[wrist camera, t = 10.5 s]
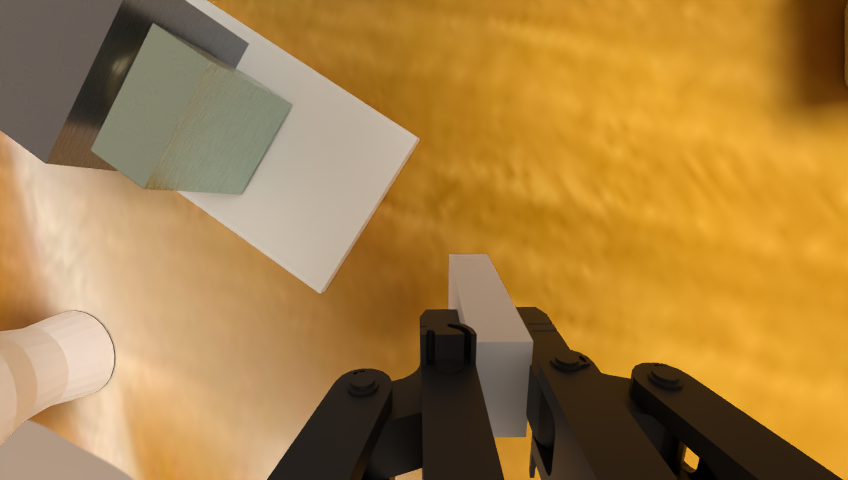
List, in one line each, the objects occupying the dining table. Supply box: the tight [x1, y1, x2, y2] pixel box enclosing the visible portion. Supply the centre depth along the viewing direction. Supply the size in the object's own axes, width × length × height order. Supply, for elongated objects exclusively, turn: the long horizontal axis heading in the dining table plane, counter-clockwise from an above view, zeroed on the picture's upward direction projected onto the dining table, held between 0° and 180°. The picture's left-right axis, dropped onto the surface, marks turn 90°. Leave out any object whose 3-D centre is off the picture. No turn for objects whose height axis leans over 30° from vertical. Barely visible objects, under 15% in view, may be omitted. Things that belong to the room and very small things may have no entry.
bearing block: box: [0, 0, 249, 171], centre depth 28 cm, size 10×12×10 cm
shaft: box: [91, 23, 292, 195], centre depth 28 cm, size 18×8×9 cm, turn 57°
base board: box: [177, 0, 420, 294], centre depth 33 cm, size 26×14×1 cm, turn 57°
